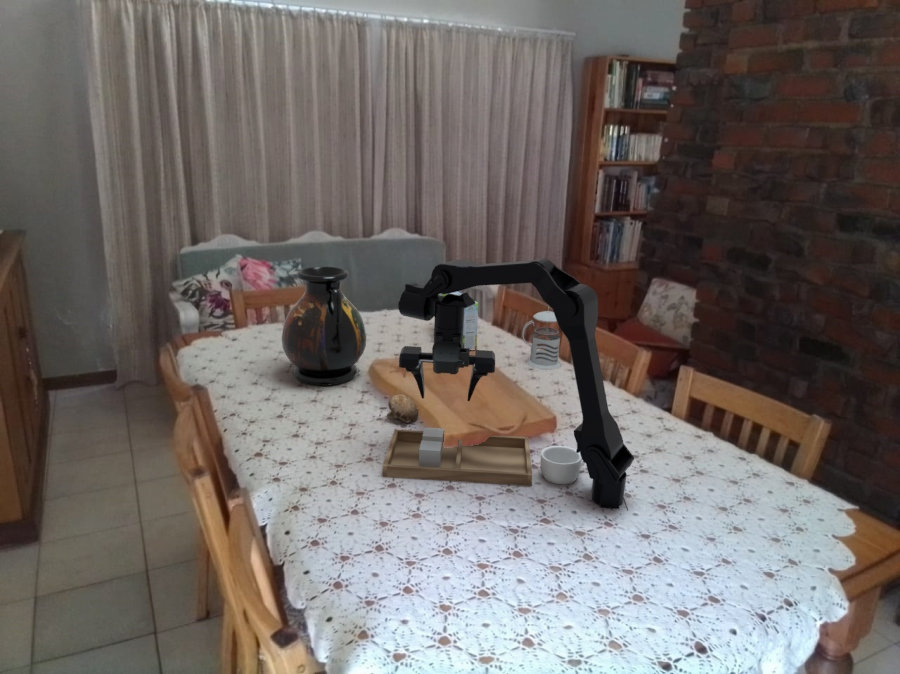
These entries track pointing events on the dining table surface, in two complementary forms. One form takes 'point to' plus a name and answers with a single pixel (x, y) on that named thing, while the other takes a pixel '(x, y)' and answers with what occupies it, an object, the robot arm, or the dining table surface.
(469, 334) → the snack box
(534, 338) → the french press
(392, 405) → the mushroom
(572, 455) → the teacup
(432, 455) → the light grey cube
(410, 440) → the divided tray
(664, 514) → the dining table surface
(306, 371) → the amphora vase
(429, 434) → the grey cube
